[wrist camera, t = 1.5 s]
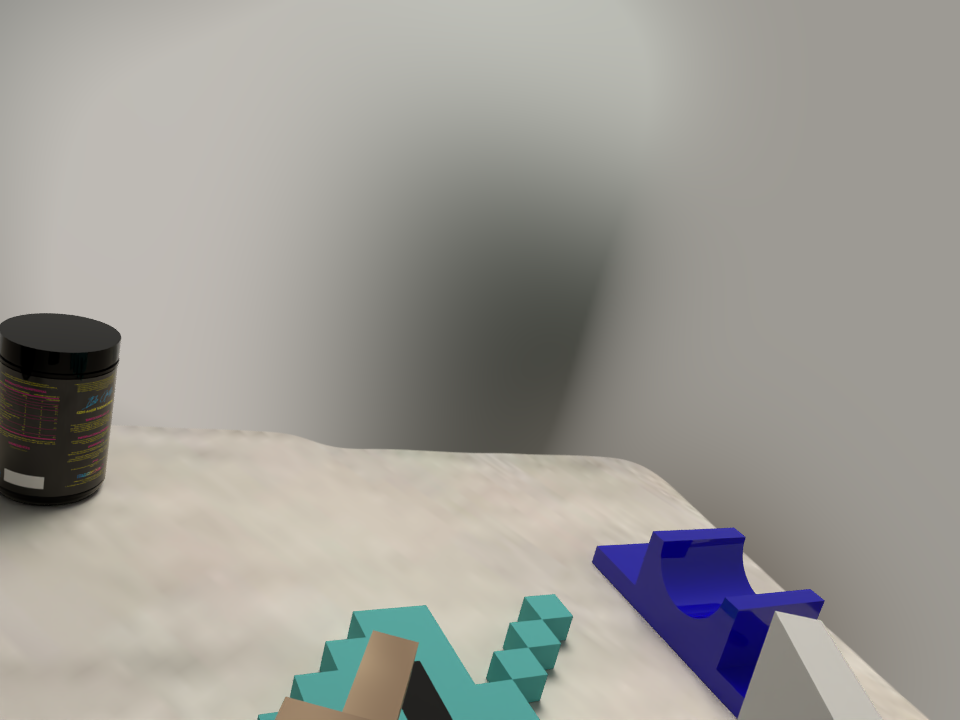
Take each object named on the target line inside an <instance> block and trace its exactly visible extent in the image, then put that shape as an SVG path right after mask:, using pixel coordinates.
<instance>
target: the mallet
mask: <svg viewBox="0 0 960 720" xmlns="http://www.w3.org/2000/svg"><path fill="white" fill-rule="evenodd" d="M418 645H419V642H415V641H411V640H408V639H404V638H400V637H396V636H393V635H389V634H385V633H381V632H378V631H374V630H373V632H372V634H371V637H370V639H369V642H368V645H367V647H366V650H365V653H364V655H363V658H362V661H361V663H360V666H359V669H358V671H357V674H356V677H355V679H354V682H353V685H352V687H351V690H350V692H349V695H348V698H347V700H346V703H345V706H344V708H343V711H342V712H341V711H337V710H333V709H330V708H326V707H322V706H318V705H315V704H311V703H307V702H304V701H300V700H296V699H293V698H289V697H285V699H284V701H283V703H282V705H281V708H280V710H279V712H278V714H277V716H276V718H275V720H399V716H400V713H401V709H402V705H403V702H404V698H405V695H406V691H407V688H408V684H409V681H410V677H411V673H412V669H413V665H414V661H415V657H416V653H417V649H418Z"/></svg>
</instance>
